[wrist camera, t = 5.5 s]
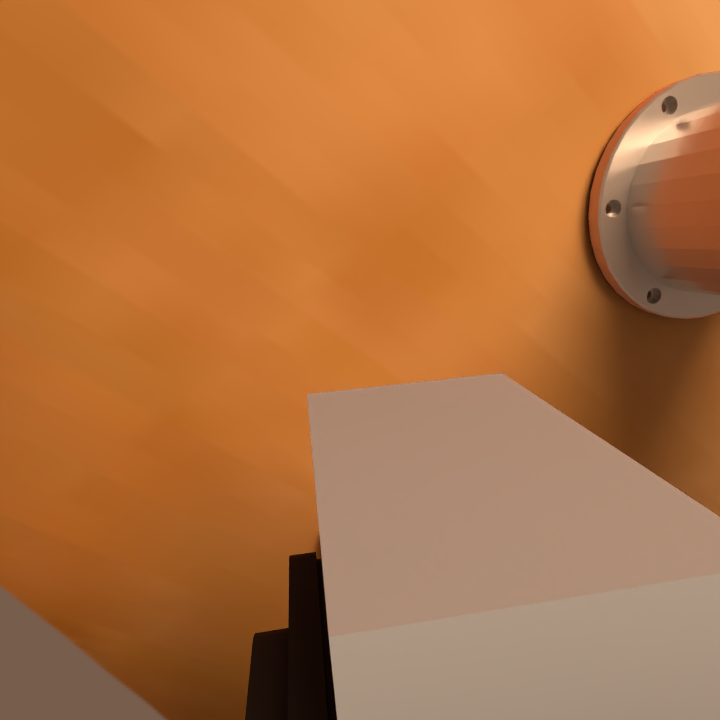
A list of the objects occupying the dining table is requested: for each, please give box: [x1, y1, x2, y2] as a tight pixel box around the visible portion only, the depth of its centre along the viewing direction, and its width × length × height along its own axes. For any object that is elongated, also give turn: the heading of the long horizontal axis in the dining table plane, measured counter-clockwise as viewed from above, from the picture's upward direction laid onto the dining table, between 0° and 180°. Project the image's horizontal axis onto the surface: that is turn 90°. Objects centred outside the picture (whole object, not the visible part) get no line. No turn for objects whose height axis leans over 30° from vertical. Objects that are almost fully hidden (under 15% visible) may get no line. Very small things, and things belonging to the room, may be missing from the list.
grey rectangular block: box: [307, 373, 720, 720], centre depth 8 cm, size 4×9×6 cm, turn 4°
